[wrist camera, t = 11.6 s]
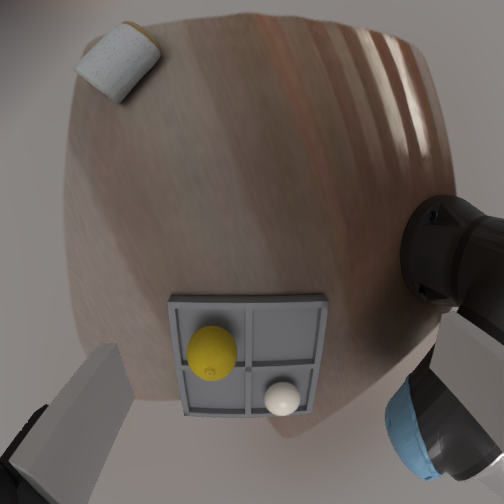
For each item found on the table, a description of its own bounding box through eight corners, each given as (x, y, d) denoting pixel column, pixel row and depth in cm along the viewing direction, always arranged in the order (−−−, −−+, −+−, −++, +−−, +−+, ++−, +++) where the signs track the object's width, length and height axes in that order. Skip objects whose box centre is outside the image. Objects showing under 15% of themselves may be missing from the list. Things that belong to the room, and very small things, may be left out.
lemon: (245, 340, 33) (249, 379, 26) (209, 360, 34) (204, 401, 26) (219, 306, 32) (215, 341, 24) (182, 328, 33) (170, 366, 25)
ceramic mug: (173, 60, 26) (156, 29, 19) (127, 111, 28) (98, 92, 20) (120, 29, 25) (97, 2, 17) (79, 76, 26) (48, 57, 18)
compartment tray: (323, 294, 34) (328, 301, 31) (308, 404, 38) (311, 413, 36) (171, 294, 33) (167, 301, 31) (186, 405, 37) (184, 415, 35)
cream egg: (298, 373, 35) (305, 396, 30) (295, 398, 36) (301, 421, 31) (263, 375, 35) (266, 398, 30) (262, 400, 36) (264, 424, 31)
